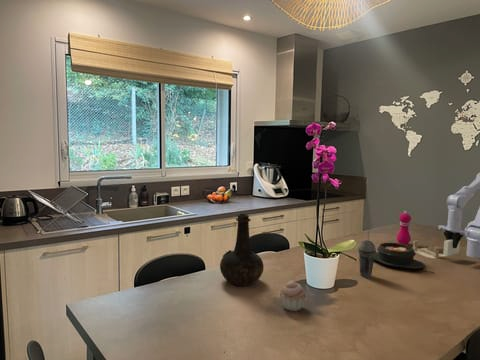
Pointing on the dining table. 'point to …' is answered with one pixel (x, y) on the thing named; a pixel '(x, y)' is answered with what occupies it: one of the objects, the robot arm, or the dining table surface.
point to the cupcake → (293, 296)
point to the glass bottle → (242, 258)
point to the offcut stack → (433, 249)
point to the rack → (427, 253)
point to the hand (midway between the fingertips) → (452, 247)
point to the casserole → (397, 256)
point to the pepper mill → (404, 229)
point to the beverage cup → (366, 257)
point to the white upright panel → (450, 248)
